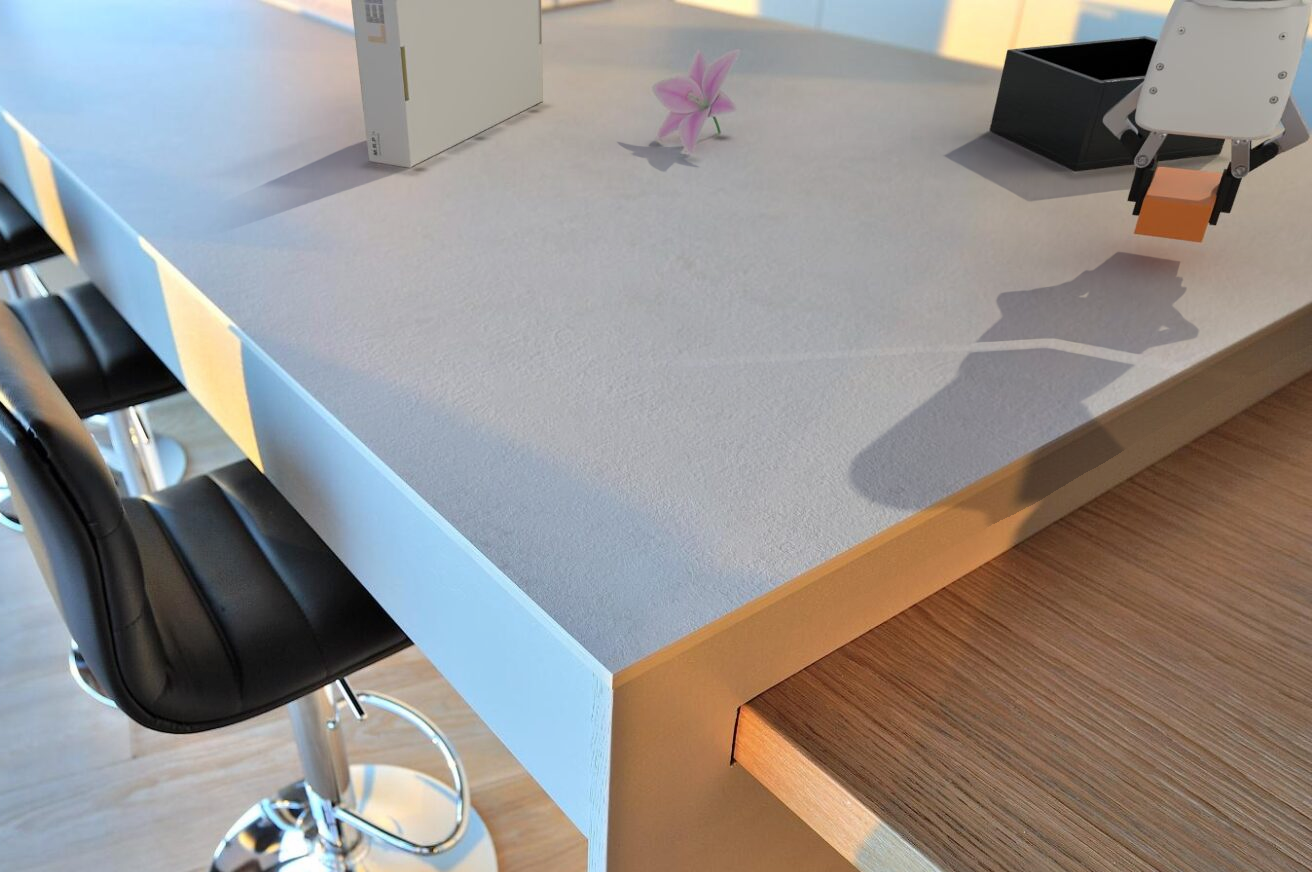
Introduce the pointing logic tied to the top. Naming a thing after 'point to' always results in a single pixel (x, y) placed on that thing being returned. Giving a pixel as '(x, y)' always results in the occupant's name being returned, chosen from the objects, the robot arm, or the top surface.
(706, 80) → the lily
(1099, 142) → the black open box
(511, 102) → the packaging
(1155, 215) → the block
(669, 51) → the top surface
